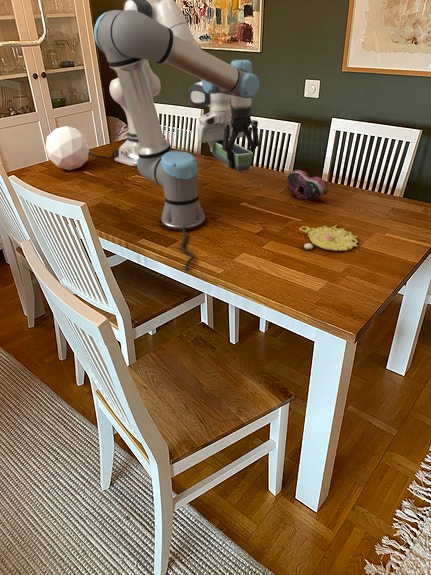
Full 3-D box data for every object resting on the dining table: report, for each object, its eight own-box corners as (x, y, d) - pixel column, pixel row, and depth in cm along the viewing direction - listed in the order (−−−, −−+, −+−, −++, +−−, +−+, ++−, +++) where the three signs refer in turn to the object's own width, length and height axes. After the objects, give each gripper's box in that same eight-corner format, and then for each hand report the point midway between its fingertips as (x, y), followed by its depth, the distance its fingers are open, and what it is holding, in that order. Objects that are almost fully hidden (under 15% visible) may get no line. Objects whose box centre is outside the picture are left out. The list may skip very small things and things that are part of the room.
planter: (253, 170, 176) (253, 152, 173) (237, 173, 174) (237, 154, 170) (224, 153, 198) (224, 137, 194) (209, 155, 196) (209, 139, 192)
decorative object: (343, 255, 128) (285, 234, 139) (342, 262, 130) (284, 241, 140) (372, 230, 142) (317, 213, 152) (371, 237, 143) (316, 219, 153)
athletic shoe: (296, 169, 182) (271, 176, 178) (328, 163, 162) (302, 171, 158) (301, 196, 185) (277, 204, 181) (334, 193, 165) (308, 202, 161)
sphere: (76, 185, 212) (61, 159, 193) (47, 165, 217) (29, 138, 198) (102, 157, 217) (90, 130, 198) (73, 138, 221) (58, 110, 203)
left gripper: (239, 112, 190) (239, 145, 198) (195, 118, 183) (196, 151, 191) (246, 115, 185) (245, 148, 193) (201, 121, 179) (202, 155, 186)
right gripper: (260, 102, 172) (259, 160, 184) (211, 107, 165) (213, 167, 178) (270, 105, 166) (267, 165, 178) (220, 111, 159) (221, 173, 172)
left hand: (221, 150), depth 192 cm, fingers closed on planter, 6 cm apart
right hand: (240, 166), depth 178 cm, fingers open, 8 cm apart
